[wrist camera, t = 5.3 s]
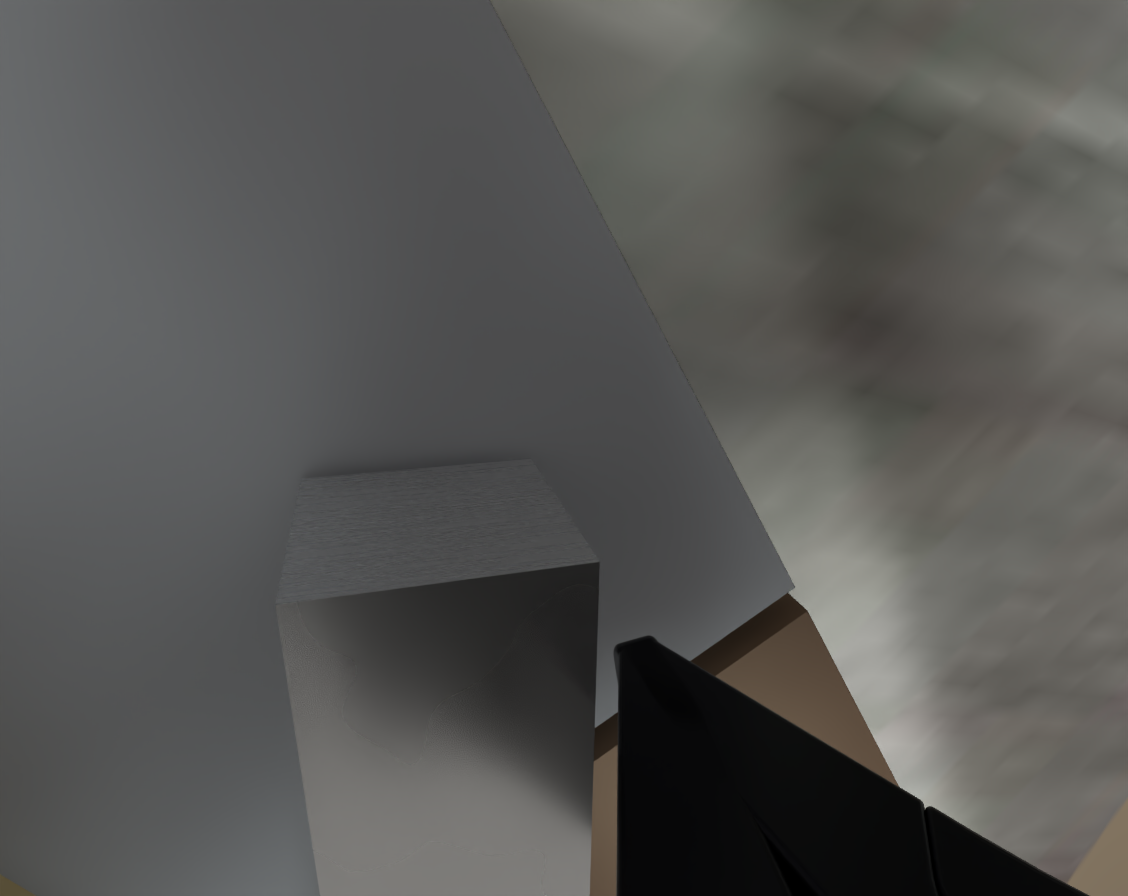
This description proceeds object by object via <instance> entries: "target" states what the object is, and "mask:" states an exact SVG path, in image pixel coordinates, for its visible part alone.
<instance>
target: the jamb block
mask: <svg viewBox="0 0 1128 896" xmlns="http://www.w3.org/2000/svg"><path fill="white" fill-rule="evenodd" d="M691 662H692V663H694V664H696V665H697V666H699V667H701V668H702V669H704V670H706V671H707V672H709V673H711V674H712V675H714V676H716V677H717V678H719V679H721V680H722V681H724V682H726V683H727V684H729V685H731V686H732V687H734V688H736V689H737V690H739V691H741V692H742V693H744V694H746V695H747V696H749V697H750V698H752V699H754V700H755V701H757V702H759V703H760V704H762V705H764V706H765V707H767V708H769V709H770V710H772V711H774V712H775V713H777V714H779V715H780V716H782V717H784V718H785V719H787V720H789V721H790V722H792V723H794V724H795V725H797V726H799V727H800V728H802V729H804V730H805V731H807V732H809V733H810V734H812V735H814V736H815V737H817V738H819V739H820V740H822V741H824V742H825V743H827V744H829V745H830V746H832V747H833V748H835V749H837V750H838V751H840V752H842V753H843V754H845V755H847V756H848V757H850V758H852V759H853V760H855V761H857V762H858V763H860V764H862V765H863V766H865V767H867V768H868V769H870V770H872V771H873V772H875V773H877V774H878V775H880V776H882V777H883V778H885V779H887V780H888V781H890V782H892V783H893V784H895V785H897V786H898V784H897V782H896V780H895V778H894V776H893V774H892V772H891V770H890V769H889V767H888V765H887V763H886V761H885V759H884V757H883V755H882V753H881V751H880V749H879V747H878V745H877V744H876V742H875V740H874V738H873V736H872V734H871V732H870V730H869V728H868V726H867V724H866V722H865V720H864V719H863V717H862V715H861V713H860V711H859V709H858V707H857V705H856V703H855V701H854V699H853V697H852V696H851V694H850V692H849V690H848V688H847V686H846V684H845V682H844V680H843V678H842V676H841V674H840V672H839V671H838V669H837V667H836V665H835V663H834V661H833V659H832V657H831V655H830V653H829V651H828V649H827V647H826V646H825V644H824V642H823V640H822V638H821V636H820V634H819V632H818V630H817V628H816V626H815V624H814V622H813V621H812V619H811V617H810V615H809V613H808V611H807V610H806V609H805V608H804V607H803V606H802V605H800V604H799V603H798V602H797V601H796V600H795V599H794V598H793V597H792V596H791V595H789V594H788V593H787V594H785V595H784V596H782V597H781V598H779V599H778V600H777V601H775V602H774V603H772V604H771V605H769V606H768V607H767V608H765V609H764V610H762V611H761V612H759V613H758V614H757V615H755V616H754V617H752V618H751V619H750V620H748V621H747V622H745V623H744V624H742V625H741V626H740V627H738V628H737V629H735V630H734V631H732V632H731V633H730V634H728V635H727V636H725V637H724V638H722V639H721V640H720V641H718V642H717V643H715V644H714V645H713V646H711V647H710V648H708V649H707V650H705V651H704V652H703V653H701V654H700V655H698V656H697V657H695V658H694V659H693V660H691ZM617 757H618V712H617V713H616V714H614V715H613V716H611V717H610V718H609V719H607V720H606V721H604V722H603V723H601V724H600V725H599V726H597V727H596V728H595V736H594V769H593V802H592V835H591V868H590V896H616V868H617ZM898 787H899V786H898Z"/></svg>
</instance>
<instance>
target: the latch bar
mask: <svg viewBox="0 0 1128 896" xmlns="http://www.w3.org/2000/svg"><path fill="white" fill-rule="evenodd" d="M599 571H600V561H599V560H598V558H597V557H596V555H595V554H594V552H593V551H592V549H591V548H590V546H589V545H588V543H587V542H586V540H585V539H584V537H583V536H582V534H581V533H580V531H579V530H578V528H577V527H576V525H575V524H574V522H573V521H572V519H571V518H570V516H569V515H568V513H567V512H566V510H565V509H564V507H563V506H562V504H561V503H560V501H559V500H558V498H557V497H556V495H555V494H554V492H553V491H552V489H551V488H550V486H549V485H548V483H547V482H546V480H545V479H544V477H543V476H542V474H541V473H540V471H539V470H538V468H537V467H536V465H535V464H534V462H533V461H532V459H531V458H530V459H519V460H508V461H496V462H485V463H474V464H463V465H452V466H440V467H429V468H418V469H407V470H396V471H385V472H373V473H362V474H351V475H340V476H329V477H317V478H306V479H301V482H300V487H299V491H298V496H297V501H296V506H295V511H294V516H293V521H292V526H291V531H290V536H289V541H288V545H287V550H286V555H285V560H284V565H283V570H282V575H281V580H280V585H279V590H278V595H277V600H276V604H275V605H276V612H277V618H278V625H279V631H280V638H281V644H282V651H283V658H284V664H285V671H286V677H287V684H288V690H289V697H290V703H291V710H292V716H293V723H294V729H295V736H296V742H297V749H298V755H299V762H300V768H301V775H302V781H303V788H304V794H305V801H306V807H307V814H308V820H309V827H310V833H311V840H312V847H313V853H314V860H315V866H316V873H317V879H318V886H319V892H320V896H590V868H591V835H592V802H593V769H594V736H595V703H596V670H597V637H598V604H599Z"/></svg>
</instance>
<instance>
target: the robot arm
mask: <svg viewBox="0 0 1128 896" xmlns="http://www.w3.org/2000/svg"><path fill="white" fill-rule="evenodd" d="M613 656H614V663H615V669H616V675H617V682H618V757H617V868H616V896H1089V895H1087V894H1085V893H1083V892H1082V891H1080V890H1078V889H1076V888H1074V887H1072V886H1070V885H1068V884H1066V883H1064V882H1062V881H1061V880H1059V879H1057V878H1055V877H1053V876H1051V875H1049V874H1047V873H1045V872H1043V871H1042V870H1040V869H1038V868H1036V867H1035V866H1033V865H1031V864H1029V863H1028V862H1026V861H1024V860H1022V859H1021V858H1019V857H1017V856H1015V855H1014V854H1012V853H1010V852H1008V851H1007V850H1005V849H1003V848H1002V847H1000V846H998V845H996V844H995V843H993V842H991V841H989V840H988V839H986V838H984V837H982V836H981V835H979V834H977V833H975V832H974V831H972V830H970V829H969V828H967V827H965V826H964V825H962V824H960V823H959V822H957V821H955V820H954V819H952V818H950V817H949V816H947V815H945V814H944V813H942V812H940V811H939V810H937V809H935V808H934V807H931V806H929V807H927V808H926V809H925V808H924V804H923V802H922V801H921V800H920V799H918V798H917V797H915V796H913V795H912V794H910V793H908V792H907V791H905V790H903V789H902V788H900V787H898V786H897V785H895V784H893V783H892V782H890V781H888V780H887V779H885V778H883V777H882V776H880V775H878V774H877V773H875V772H873V771H872V770H870V769H868V768H867V767H865V766H863V765H862V764H860V763H858V762H857V761H855V760H853V759H852V758H850V757H848V756H847V755H845V754H843V753H842V752H840V751H838V750H837V749H835V748H833V747H832V746H830V745H829V744H827V743H825V742H824V741H822V740H820V739H819V738H817V737H815V736H814V735H812V734H810V733H809V732H807V731H805V730H804V729H802V728H800V727H799V726H797V725H795V724H794V723H792V722H790V721H789V720H787V719H785V718H784V717H782V716H780V715H779V714H777V713H775V712H774V711H772V710H770V709H769V708H767V707H765V706H764V705H762V704H760V703H759V702H757V701H755V700H754V699H752V698H750V697H749V696H747V695H746V694H744V693H742V692H741V691H739V690H737V689H736V688H734V687H732V686H731V685H729V684H727V683H726V682H724V681H722V680H721V679H719V678H717V677H716V676H714V675H712V674H711V673H709V672H707V671H706V670H704V669H702V668H701V667H699V666H697V665H696V664H694V663H692V662H691V661H689V660H687V659H686V658H684V657H682V656H681V655H679V654H677V653H676V652H674V651H672V650H671V649H669V648H667V647H666V646H664V645H662V644H661V643H659V642H658V641H657V639H656V638H655V637H653V636H650V635H646V636H643V637H639V638H636V639H632V640H629V641H625V642H621V643H618V644H617V645H616V646H615V647H614V651H613Z"/></svg>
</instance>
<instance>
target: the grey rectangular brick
mask: <svg viewBox="0 0 1128 896" xmlns="http://www.w3.org/2000/svg"><path fill="white" fill-rule="evenodd" d="M530 458H531V459H532V461H533V462H534V464H535V465H536V467H537V468H538V470H539V471H540V473H541V474H542V476H543V477H544V479H545V480H546V482H547V483H548V485H549V486H550V488H551V489H552V491H553V492H554V494H555V495H556V497H557V498H558V500H559V501H560V503H561V504H562V506H563V507H564V509H565V510H566V512H567V513H568V515H569V516H570V518H571V519H572V521H573V522H574V524H575V525H576V527H577V528H578V530H579V531H580V533H581V534H582V536H583V537H584V539H585V540H586V542H587V543H588V545H589V546H590V548H591V549H592V551H593V552H594V554H595V555H596V557H597V558H598V560H599V561H600V571H599V604H598V637H597V670H596V703H595V728H596V727H597V726H599V725H600V724H601V723H603V722H604V721H606V720H607V719H609V718H610V717H611V716H613V715H614V714H616V713H617V712H618V682H617V675H616V669H615V663H614V656H613V651H614V647H615V646H616V645H617V644H618V643H621V642H625V641H629V640H632V639H636V638H639V637H643V636H646V635H650V636H653V637H655V638H656V639H657V641H658V642H659V643H661V644H662V645H664V646H666V647H667V648H669V649H671V650H672V651H674V652H676V653H677V654H679V655H681V656H682V657H684V658H686V659H687V660H689V661H691V660H693V659H694V658H695V657H697V656H698V655H700V654H701V653H703V652H704V651H705V650H707V649H708V648H710V647H711V646H713V645H714V644H715V643H717V642H718V641H720V640H721V639H722V638H724V637H725V636H727V635H728V634H730V633H731V632H732V631H734V630H735V629H737V628H738V627H740V626H741V625H742V624H744V623H745V622H747V621H748V620H750V619H751V618H752V617H754V616H755V615H757V614H758V613H759V612H761V611H762V610H764V609H765V608H767V607H768V606H769V605H771V604H772V603H774V602H775V601H777V600H778V599H779V598H781V597H782V596H784V595H785V594H787V593H788V592H789V591H791V590H792V589H794V588H795V586H794V584H793V582H792V580H791V578H790V576H789V574H788V572H787V571H786V569H785V567H784V565H783V563H782V561H781V559H780V557H779V555H778V553H777V551H776V549H775V547H774V546H773V544H772V542H771V540H770V538H769V536H768V534H767V532H766V530H765V528H764V526H763V524H762V522H761V521H760V519H759V517H758V515H757V513H756V511H755V509H754V507H753V505H752V503H751V501H750V499H749V498H748V496H747V494H746V492H745V490H744V488H743V486H742V484H741V482H740V480H739V478H738V476H737V474H736V473H735V471H734V469H733V467H732V465H731V463H730V461H729V459H728V457H727V455H726V453H725V451H724V449H723V448H722V446H721V444H720V442H719V440H718V438H717V436H716V434H715V432H714V430H713V428H712V426H711V424H710V423H709V421H708V419H707V417H706V415H705V413H704V411H703V409H702V407H701V405H700V403H699V401H698V399H697V398H696V396H695V394H694V392H693V390H692V388H691V386H690V384H689V382H688V380H687V378H686V376H685V374H684V373H683V371H682V369H681V367H680V365H679V363H678V361H677V359H676V357H675V355H674V353H673V351H672V349H671V348H670V346H669V344H668V342H667V340H666V338H665V336H664V334H663V332H662V330H661V328H660V326H659V325H658V323H657V321H656V319H655V317H654V315H653V313H652V311H651V309H650V307H649V305H648V303H647V301H646V300H645V298H644V296H643V294H642V292H641V290H640V288H639V286H638V284H637V282H636V280H635V278H634V276H633V275H632V273H631V271H630V269H629V267H628V265H627V263H626V261H625V259H624V257H623V255H622V253H621V251H620V250H619V248H618V246H617V244H616V242H615V240H614V238H613V236H612V234H611V232H610V230H609V228H608V226H607V225H606V223H605V221H604V219H603V217H602V215H601V213H600V211H599V209H598V207H597V205H596V203H595V201H594V200H593V198H592V196H591V194H590V192H589V190H588V188H587V186H586V184H585V182H584V180H583V178H582V176H581V175H580V173H579V171H578V169H577V167H576V165H575V163H574V161H573V159H572V157H571V155H570V153H569V152H568V150H567V148H566V146H565V144H564V142H563V140H562V138H561V136H560V134H559V132H558V130H557V128H556V127H555V125H554V123H553V121H552V119H551V117H550V115H549V113H548V111H547V109H546V107H545V105H544V103H543V102H542V100H541V98H540V96H539V94H538V92H537V90H536V88H535V86H534V84H533V82H532V80H531V78H530V77H529V75H528V73H527V71H526V69H525V67H524V65H523V63H522V61H521V59H520V57H519V55H518V53H517V52H516V50H515V48H514V46H513V44H512V42H511V40H510V38H509V36H508V34H507V32H506V30H505V28H504V27H503V25H502V23H501V21H500V19H499V17H498V15H497V13H496V11H495V9H494V7H493V5H492V4H491V2H490V0H0V896H320V892H319V886H318V879H317V873H316V866H315V860H314V853H313V847H312V840H311V833H310V827H309V820H308V814H307V807H306V801H305V794H304V788H303V781H302V775H301V768H300V762H299V755H298V749H297V742H296V736H295V729H294V723H293V716H292V710H291V703H290V697H289V690H288V684H287V677H286V671H285V664H284V658H283V651H282V644H281V638H280V631H279V625H278V618H277V612H276V605H275V604H276V600H277V595H278V590H279V585H280V580H281V575H282V570H283V565H284V560H285V555H286V550H287V545H288V541H289V536H290V531H291V526H292V521H293V516H294V511H295V506H296V501H297V496H298V491H299V487H300V482H301V479H306V478H317V477H329V476H340V475H351V474H362V473H373V472H385V471H396V470H407V469H418V468H429V467H440V466H452V465H463V464H474V463H485V462H496V461H508V460H519V459H530Z"/></svg>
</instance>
